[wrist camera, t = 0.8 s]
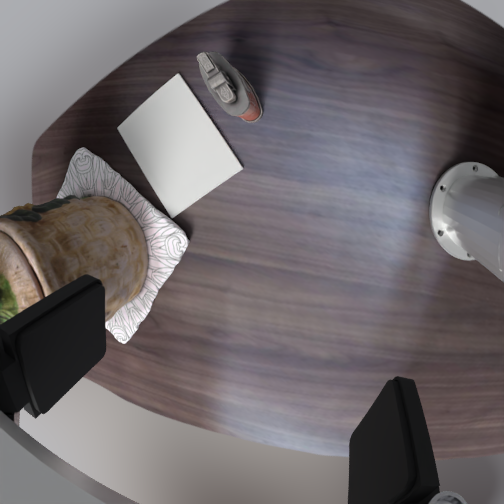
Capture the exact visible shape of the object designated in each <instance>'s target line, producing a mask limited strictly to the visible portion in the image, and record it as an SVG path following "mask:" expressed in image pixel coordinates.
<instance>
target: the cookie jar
mask: <svg viewBox="0 0 504 504" xmlns="http://www.w3.org/2000/svg"><path fill="white" fill-rule="evenodd" d="M189 242H190V241H189V240H188V238H187V237H186V234H185V232H184V231H183V230H182V229H181V228H180V227H179V226H178V225H177V224H176V223H175V222H173V221H172V220H171V219H170V218H168V217H167V216H166V215H164V214H163V213H162V212H160V211H159V210H158V209H156V208H155V207H154V206H153V205H152V204H151V203H150V202H149V201H148V200H147V199H145V198H144V197H143V196H142V195H140V194H139V193H138V192H137V191H136V189H135V188H134V187H133V186H132V185H131V184H130V183H129V182H127V181H126V180H125V179H124V178H123V177H122V176H121V175H120V174H119V173H117V172H115V171H114V170H113V169H112V168H111V167H110V166H109V165H108V164H107V162H105V161H103V159H102V158H100V157H99V156H96V155H94V154H93V153H91V152H90V151H89V150H87V149H86V148H80V149H78V150H77V151H76V153H75V154H74V156H73V157H72V159H71V161H70V164H69V168H68V172H67V173H66V176H65V181H64V183H63V186H62V188H61V189H60V191H59V193H58V195H57V198H56V199H54V200H52V201H50V202H47V203H44V204H41V205H37V206H36V205H33V204H29V203H27V204H26V205H25V206H17V207H14V208H13V209H12V210H11V211H9V212H7V213H6V214H4V215H1V216H0V325H1V324H2V323H4V322H5V321H7V320H8V319H10V318H12V317H13V316H15V315H16V314H18V313H20V312H21V311H23V310H25V309H26V308H28V307H30V306H31V305H33V304H34V303H36V302H38V301H39V300H41V299H43V298H45V297H46V296H48V295H50V294H51V293H53V292H55V291H56V290H58V289H60V288H62V287H63V286H65V285H67V284H69V283H70V282H72V281H74V280H76V279H77V278H79V277H81V276H83V275H85V274H88V275H91V276H93V277H95V278H97V279H100V280H101V281H102V284H103V286H104V287H105V327H106V328H107V329H108V330H109V331H110V333H112V334H113V335H114V336H115V338H116V339H117V340H118V341H119V342H121V343H123V344H125V343H126V342H127V341H128V340H130V338H131V337H132V335H133V334H134V333H135V332H136V330H138V328H139V324H140V323H141V322H142V321H143V320H144V319H145V318H146V316H147V314H148V312H149V311H150V309H151V306H152V303H153V301H154V299H155V297H156V296H157V294H158V290H159V289H160V288H161V286H162V285H163V284H164V282H165V281H166V280H167V279H168V277H169V276H170V275H171V274H172V272H173V270H174V268H175V266H176V265H177V264H178V263H179V262H180V260H181V258H182V255H183V254H184V252H185V250H186V248H187V246H188V244H189Z"/></svg>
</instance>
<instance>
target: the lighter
mask: <svg viewBox="0 0 504 504" xmlns="http://www.w3.org/2000/svg"><path fill="white" fill-rule="evenodd" d="M197 59H198V61H199V68H200V71H201V74H202V77H203V79H204V81H205V83H206V85H207V87H208V89H209V91H210V93H211V94H212V96H213V97H214V98H215V100H216V101H217V103H218V104H219V105H220V106H221V107H222V108H223V109H224V110H225V111H226V113H228V114H229V115H232V116H238V117H241V118H242V119H243V120H244V121H246V122H249V123H255V122H257V121H259V120H260V119H261V117H262V116H263V109H262V106H261V103H260V100H259V98H258V96H257V94H256V92H255V90H254V88H253V87H252V86H251V84H250V83H249V81H248V80H247V79H246V78H245V77H244V76H243V75H242V74H241V73H240V72H239V71H238V70H237V69H236V68H233V67H232V65H231V64H230V63H229V62H228V61H227V60H226V59H225V58H224V57H223V56H222V55H220V54H219V53H217V52H209V53H207V52H202V53H200V54H199V55H198V56H197Z"/></svg>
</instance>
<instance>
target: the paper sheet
mask: <svg viewBox="0 0 504 504" xmlns="http://www.w3.org/2000/svg"><path fill="white" fill-rule="evenodd" d="M117 129H118V130H119V132H120V134H121V136H122V137H123V139H124V141H125V142H126V144H127V146H128V148H129V149H130V151H131V153H132V154H133V156H134V158H135V159H136V161H137V163H138V164H139V166H140V168H141V169H142V171H143V173H144V174H145V176H146V178H147V179H148V181H149V183H150V184H151V186H152V187H153V189H154V191H155V192H156V194H157V196H158V197H159V199H160V200H161V202H162V204H163V205H164V207H165V208H166V210H167V212H168V213H169V215H170V216H171V218H174V217H175V216H176V215H178V214H179V213H181V212H182V211H183V210H185V209H186V208H187V207H189V206H190V205H192V204H193V203H194V202H196V201H197V200H199V199H200V198H201V197H203V196H204V195H206V194H207V193H208V192H210V191H211V190H213V189H214V188H216V187H217V186H219V185H220V184H221V183H223V182H224V181H226V180H227V179H229V178H230V177H232V176H233V175H235V174H236V173H238V172H239V171H241V170H242V169H244V168H243V167H242V165H241V164H240V162H239V161H238V159H237V158H236V156H235V155H234V153H233V152H232V150H231V149H230V147H229V145H228V144H227V142H226V141H225V139H224V138H223V136H222V135H221V133H220V132H219V131H218V129H217V128H216V126H215V125H214V123H213V122H212V120H211V119H210V117H209V116H208V114H207V113H206V111H205V110H204V108H203V107H202V105H201V104H200V103H199V101H198V100H197V98H196V97H195V95H194V94H193V92H192V91H191V90H190V88H189V87H188V85H187V84H186V82H185V81H184V80H183V78H182V77H181V75H180V74H179V73H178V74H177V75H175V76H174V77H173V78H172V79H170V80H169V81H168V82H167V83H166V84H164V85H163V86H162V87H161V88H160V89H159V90H157V91H156V92H155V93H154V94H153V95H152V96H151V97H149V98H148V99H147V100H146V101H145V102H144V103H143V104H142V105H141V106H140V107H138V108H137V109H136V110H135V111H134V112H133V113H132V114H131V115H130V116H129V117H128V118H127V119H126V120H125V121H124V122H123V123H122V124H121V125H120V126H119V127H118V128H117Z"/></svg>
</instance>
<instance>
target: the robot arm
mask: <svg viewBox="0 0 504 504" xmlns="http://www.w3.org/2000/svg"><path fill="white" fill-rule="evenodd" d="M473 167H474V169H473ZM440 186H442V189H441V190H440ZM429 219H430V224H431V228H432V231H433V234H434V236H435V238H436V240H437V241H438V243H439V244H440V245H441V246H442V248H443V249H444V250H445V251H447V252H448V253H449V254H450V255H452V256H454V257H456V258H459V259H462V260H475V259H476V260H477V261H479V262H480V263H481V264H482V265H484V266H485V267H486V268H487V269H488V270H490V271H491V272H492V273H493V274H494V275H496V276H497V277H498V278H499V279H500V280H501V281H503V282H504V178H503V177H499V176H498V174H497V173H496V172H494V171H493V170H492V169H491V168H489V167H488V166H486V165H484V164H481V163H477V162H462V163H459V164H456V165H454V166H452V167H451V168H449V169H448V170H447V171H446V172H445V173H443V174H442V176H441V177H440V178H439V180H438V181H437V183H436V185H435V187H434V189H433V192H432V195H431V199H430V206H429ZM439 230H440V232H439V233H438V231H439ZM467 253H468V254H467ZM105 352H106V328H105V287H104V286H103V284H102V281H101V280H100V279H97V278H95V277H93V276H91V275H88V274H85V275H83V276H81V277H79V278H77V279H76V280H74V281H72V282H70V283H69V284H67V285H65V286H63V287H62V288H60V289H58V290H56V291H55V292H53V293H51V294H50V295H48V296H46V297H45V298H43V299H41V300H39V301H38V302H36V303H34V304H33V305H31V306H30V307H28V308H26V309H25V310H23V311H21V312H20V313H18V314H16V315H15V316H13V317H12V318H10V319H8V320H7V321H5V322H4V323H2V324H1V325H0V504H139V503H137V502H135V501H133V500H131V499H129V498H127V497H125V496H123V495H121V494H119V493H117V492H115V491H113V490H111V489H110V488H108V487H106V486H104V485H102V484H101V483H99V482H97V481H95V480H94V479H92V478H90V477H89V476H87V475H85V474H84V473H82V472H80V471H79V470H77V469H76V468H74V467H73V466H71V465H70V464H68V463H67V462H65V461H64V460H62V459H61V458H59V457H58V456H57V455H55V454H53V453H52V452H51V451H50V450H48V449H47V448H45V447H44V446H43V445H41V444H40V443H39V442H37V441H36V440H35V439H34V438H32V437H31V436H30V435H29V434H27V433H26V432H25V431H24V430H23V429H21V428H20V427H19V415H20V410H21V409H22V408H23V407H24V409H25V410H26V411H27V412H28V413H29V414H31V415H32V416H33V417H34V418H37V417H38V416H39V415H40V414H41V413H42V414H45V413H46V412H48V411H49V410H50V409H51V408H52V407H53V405H55V403H57V402H58V401H59V400H60V399H61V398H62V397H63V396H64V395H65V394H66V393H67V392H68V391H69V390H70V389H71V388H72V387H73V386H74V385H75V384H76V383H77V382H78V381H79V380H80V379H81V378H82V377H83V376H84V375H85V374H86V373H87V372H88V371H89V370H90V369H91V368H92V367H94V366H95V365H96V364H97V363H98V362H99V361H100V360H101V359H102V358H103V357H104V355H105ZM439 486H440V484H439V479H438V473H437V468H436V464H435V459H434V454H433V450H432V445H431V441H430V437H429V433H428V429H427V425H426V421H425V417H424V413H423V409H422V406H421V402H420V399H419V395H418V392H417V388H416V385H415V382H414V380H412V379H408V378H403V377H398V376H397V377H395V378H394V379H393V380H389V381H388V382H387V383H386V384H385V386H384V388H383V389H382V391H381V392H380V394H379V396H378V397H377V399H376V400H375V402H374V403H373V405H372V406H371V408H370V409H369V411H368V412H367V414H366V415H365V417H364V418H363V419H362V421H361V422H360V424H359V425H358V427H357V428H356V429H355V431H354V432H353V434H352V436H351V438H350V444H349V490H348V491H349V492H348V504H467V503H466V501H465V500H464V499H463V498H462V497H461V496H460V495H459V494H457V493H455V492H450V491H444V492H440V491H439Z"/></svg>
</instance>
